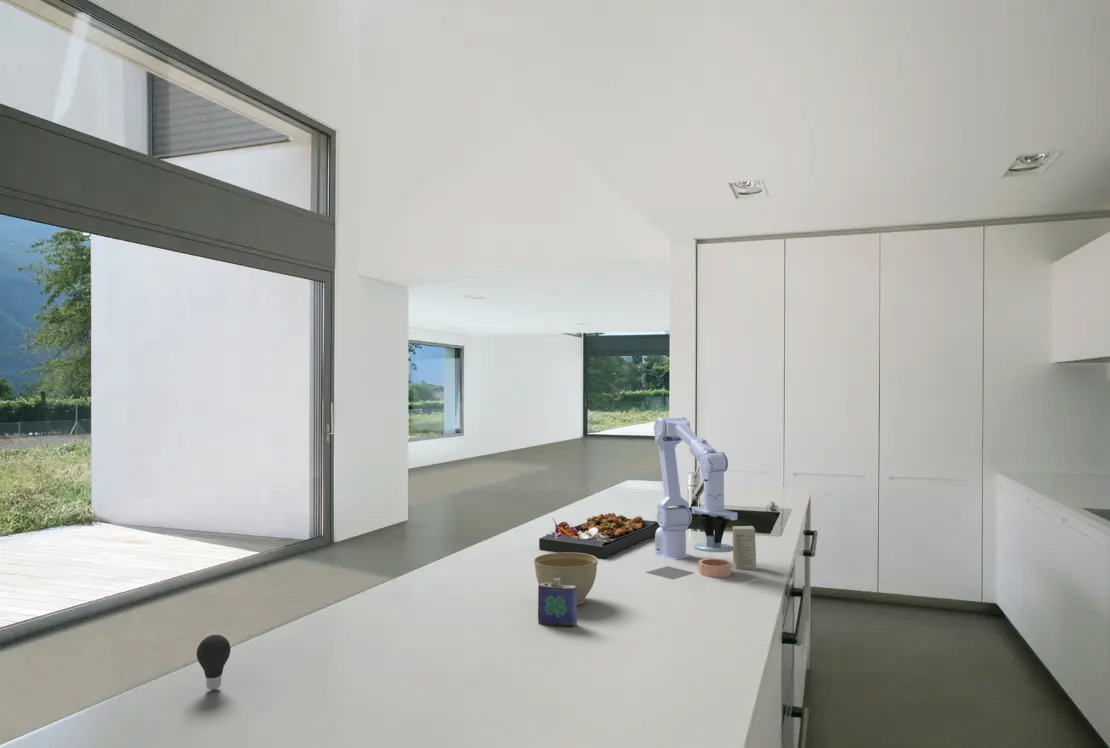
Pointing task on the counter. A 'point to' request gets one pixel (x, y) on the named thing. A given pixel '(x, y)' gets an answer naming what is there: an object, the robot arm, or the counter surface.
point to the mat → (669, 572)
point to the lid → (713, 546)
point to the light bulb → (213, 659)
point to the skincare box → (744, 547)
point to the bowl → (714, 567)
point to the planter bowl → (568, 571)
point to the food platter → (599, 535)
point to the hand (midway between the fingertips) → (714, 541)
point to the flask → (557, 604)
